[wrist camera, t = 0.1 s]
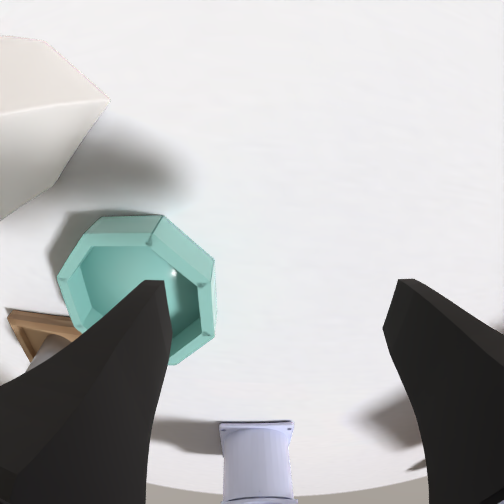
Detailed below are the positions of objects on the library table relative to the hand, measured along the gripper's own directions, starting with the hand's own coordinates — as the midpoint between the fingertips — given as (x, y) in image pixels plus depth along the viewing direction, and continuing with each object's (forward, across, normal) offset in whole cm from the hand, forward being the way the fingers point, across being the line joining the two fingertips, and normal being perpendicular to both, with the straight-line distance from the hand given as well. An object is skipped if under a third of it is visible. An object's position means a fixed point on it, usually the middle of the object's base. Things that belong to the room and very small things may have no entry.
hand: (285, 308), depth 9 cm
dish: (+10, +8, +6) cm, 14 cm away
